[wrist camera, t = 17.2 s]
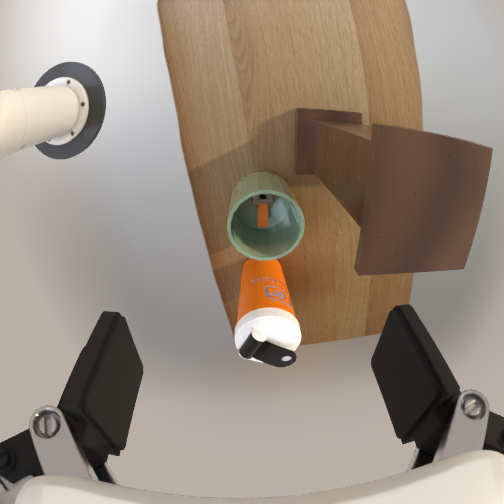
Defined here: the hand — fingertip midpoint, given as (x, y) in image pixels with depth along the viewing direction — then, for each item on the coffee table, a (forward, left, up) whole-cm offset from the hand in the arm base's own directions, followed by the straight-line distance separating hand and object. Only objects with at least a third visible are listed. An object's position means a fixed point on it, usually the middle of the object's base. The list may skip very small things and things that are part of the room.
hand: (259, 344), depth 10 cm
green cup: (+2, -8, -38) cm, 39 cm away
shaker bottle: (+2, -21, -38) cm, 44 cm away
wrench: (+2, -8, -37) cm, 38 cm away
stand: (+12, +2, -38) cm, 40 cm away
